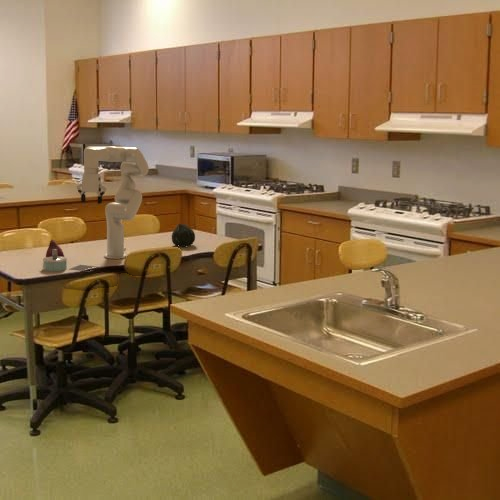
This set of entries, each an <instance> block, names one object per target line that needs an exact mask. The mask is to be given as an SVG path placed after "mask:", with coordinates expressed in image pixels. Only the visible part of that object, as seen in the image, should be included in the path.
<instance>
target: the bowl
mask: <svg viewBox="0 0 500 500" xmlns="http://www.w3.org/2000/svg"><path fill="white" fill-rule="evenodd" d="M42 264H43V270H44V272H45V271H46V272H54V273H55V272H62V271H65V270H67V261H65V262H60V263H48V262H44V261H43V263H42Z"/></svg>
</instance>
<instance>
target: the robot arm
mask: <svg viewBox="0 0 500 500" xmlns="http://www.w3.org/2000/svg"><path fill="white" fill-rule="evenodd" d="M99 162H107V163H109V162H110V163H111V162H114V163H118V162H119V163H121V164H120V173H121V174H120V175H121V182H120V185H119V186H118V188H117V190H116V192H115V195H114V202H109V203H107V204H106V205H105V207H104V208H105V209H104V211H105V212H104V214H105V218H106V219H105V220H106V253H105V254H104V258H106V259H110V260H117V259H118V260H121V259H125V258H126V257H125V256H126V255H127V254H126V253H125V252H126V250H127V248H126V247H125V238H124V237H125V228H124V223H123V221H132V220H133V219H135V217H136V215H137V213H138V211H139V208H140V206H141V205H142V202H143V193H142V192H141V191H140V190H139V189H136V186H137V185H136V181H135V179H134V178H133V176H137V177H145V176H147V175H148V173H149V171H150V170H149V169H150V168H149V164H148V162H147V160H146V158H145V156H144V154H143V153H142V151H141V150H140V149H139V148H137V147H127V146H92V145H90V146H89V145H88V146H87V147H85V148H84V150H83V173H82V177H81V178H82V179H81V184H79V185H76V189H77V191H78V193H79V194H80V201H81V203H85V202H86V193H94V194H95V193H96V195H98V196H97V204H98V205H100V204H102V203H103V196H104V194H105V193H106V191H107V188H106V187H105V186H103V185H102V178H101V177H102V176H101V169H100V168H99ZM120 258H121V259H120Z"/></svg>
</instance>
